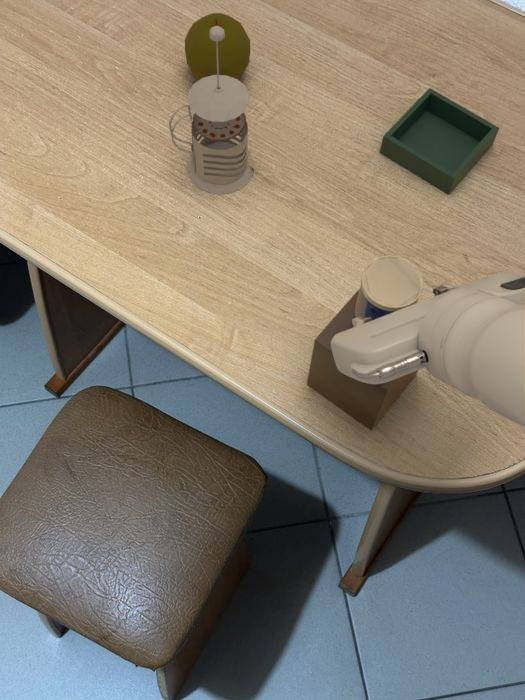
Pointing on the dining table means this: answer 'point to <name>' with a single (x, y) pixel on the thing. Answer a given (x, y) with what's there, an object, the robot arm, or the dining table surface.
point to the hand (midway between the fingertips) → (399, 308)
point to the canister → (388, 287)
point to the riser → (343, 390)
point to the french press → (217, 131)
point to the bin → (438, 140)
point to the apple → (229, 49)
